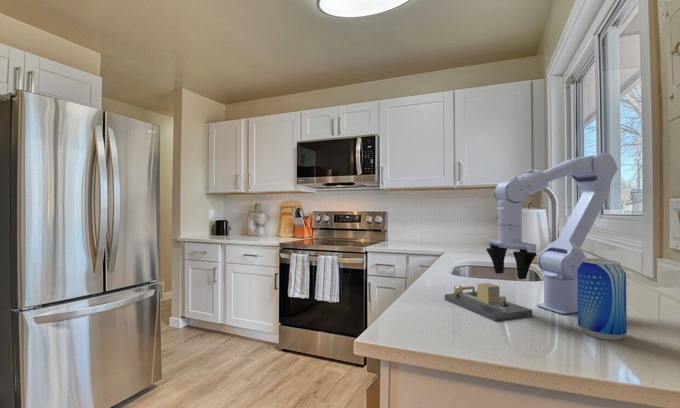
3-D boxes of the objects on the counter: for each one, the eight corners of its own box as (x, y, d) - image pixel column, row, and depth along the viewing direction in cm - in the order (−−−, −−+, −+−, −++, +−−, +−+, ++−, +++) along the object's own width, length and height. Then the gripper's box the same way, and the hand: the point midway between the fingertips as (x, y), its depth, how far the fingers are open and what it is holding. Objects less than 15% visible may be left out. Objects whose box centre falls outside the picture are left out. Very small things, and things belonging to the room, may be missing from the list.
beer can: (568, 327, 76) (568, 258, 76) (601, 326, 77) (600, 257, 77) (601, 342, 68) (600, 264, 68) (637, 340, 69) (636, 264, 69)
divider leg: (499, 301, 91) (499, 281, 91) (511, 305, 87) (511, 285, 88) (477, 303, 89) (477, 283, 89) (488, 307, 85) (488, 287, 85)
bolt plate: (477, 296, 103) (477, 283, 104) (532, 315, 84) (532, 300, 85) (444, 299, 100) (444, 286, 100) (494, 320, 81) (494, 304, 81)
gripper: (478, 224, 95) (478, 271, 94) (520, 227, 81) (521, 282, 81) (498, 224, 97) (498, 270, 97) (542, 226, 83) (543, 280, 83)
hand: (510, 275), depth 89 cm, fingers open, 7 cm apart
